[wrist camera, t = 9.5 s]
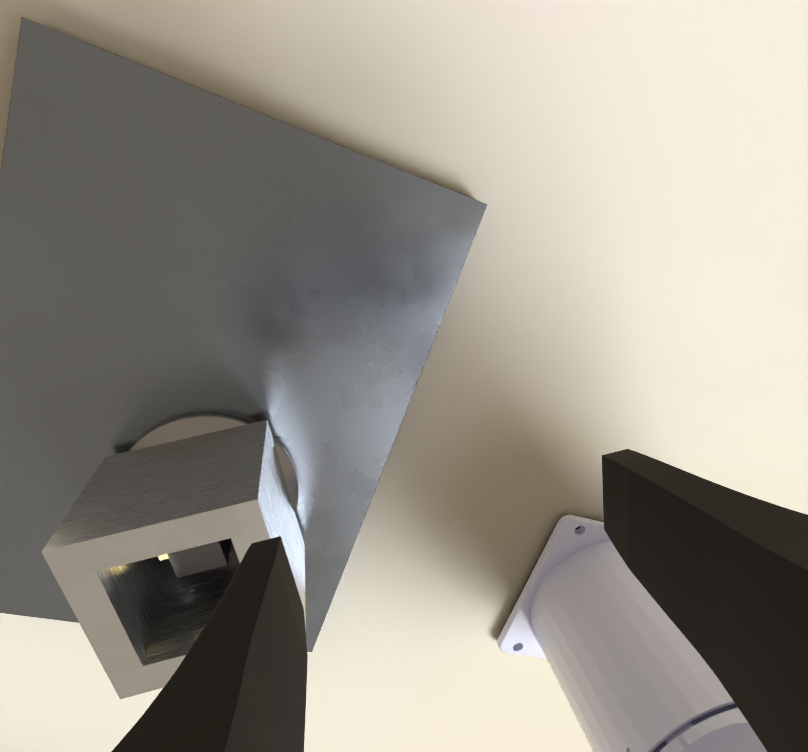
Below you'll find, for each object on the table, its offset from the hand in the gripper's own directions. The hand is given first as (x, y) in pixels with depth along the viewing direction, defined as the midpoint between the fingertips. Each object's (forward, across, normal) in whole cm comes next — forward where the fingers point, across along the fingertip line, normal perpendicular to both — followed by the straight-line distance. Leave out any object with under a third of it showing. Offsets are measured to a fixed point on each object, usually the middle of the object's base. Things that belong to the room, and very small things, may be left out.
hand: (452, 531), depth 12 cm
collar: (+8, +7, +3) cm, 12 cm away
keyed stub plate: (+10, +7, 0) cm, 12 cm away
